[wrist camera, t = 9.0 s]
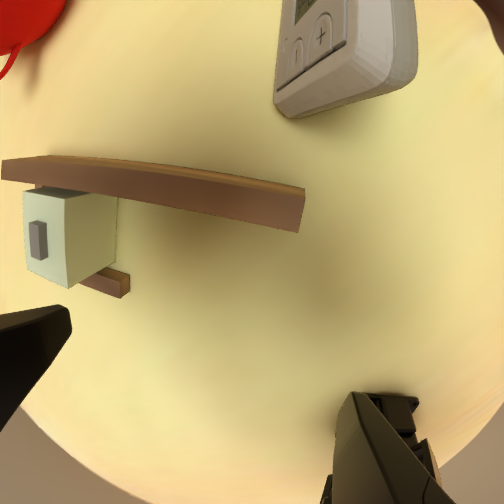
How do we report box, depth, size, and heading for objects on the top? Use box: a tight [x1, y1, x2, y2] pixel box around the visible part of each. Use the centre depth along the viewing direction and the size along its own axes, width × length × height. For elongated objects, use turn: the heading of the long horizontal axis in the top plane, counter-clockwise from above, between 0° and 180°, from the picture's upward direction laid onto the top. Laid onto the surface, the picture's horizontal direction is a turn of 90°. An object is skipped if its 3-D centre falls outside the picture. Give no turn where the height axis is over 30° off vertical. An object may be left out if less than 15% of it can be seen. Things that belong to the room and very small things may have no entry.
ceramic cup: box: [0, 0, 66, 80], centre depth 11 cm, size 13×17×10 cm
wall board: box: [1, 155, 305, 299], centre depth 18 cm, size 10×23×6 cm, turn 80°
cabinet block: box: [23, 186, 118, 289], centre depth 18 cm, size 6×5×7 cm
